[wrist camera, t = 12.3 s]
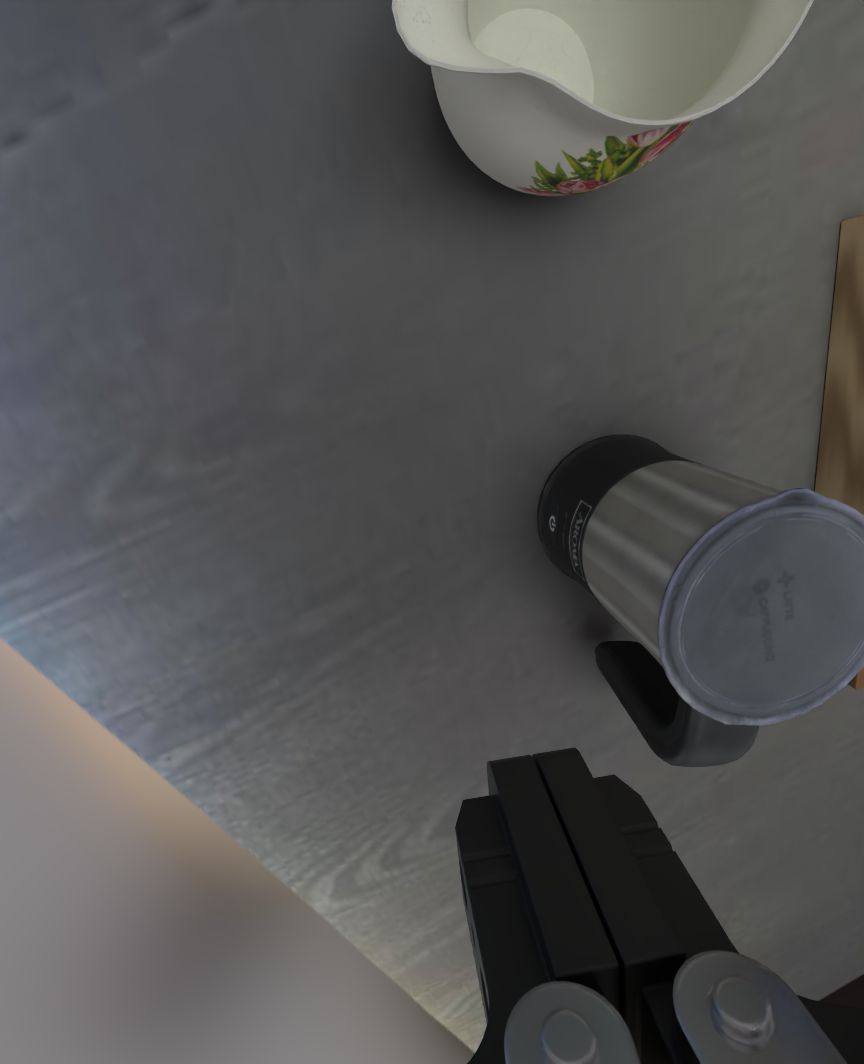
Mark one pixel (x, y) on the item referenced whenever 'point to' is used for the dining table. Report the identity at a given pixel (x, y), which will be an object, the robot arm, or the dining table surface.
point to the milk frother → (708, 592)
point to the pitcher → (587, 77)
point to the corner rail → (845, 384)
